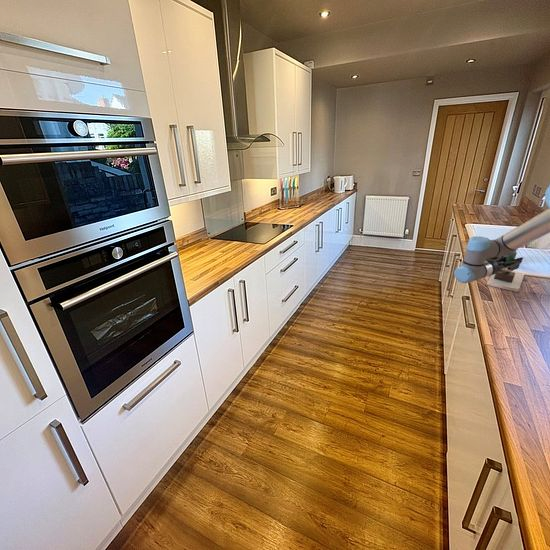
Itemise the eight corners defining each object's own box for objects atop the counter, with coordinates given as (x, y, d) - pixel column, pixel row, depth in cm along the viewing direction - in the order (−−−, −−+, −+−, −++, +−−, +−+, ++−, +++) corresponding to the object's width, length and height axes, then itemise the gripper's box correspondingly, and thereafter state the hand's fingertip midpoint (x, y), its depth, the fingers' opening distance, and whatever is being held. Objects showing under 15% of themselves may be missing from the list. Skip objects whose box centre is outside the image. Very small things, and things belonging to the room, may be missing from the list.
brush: (513, 279, 139) (523, 252, 133) (511, 283, 136) (521, 255, 129) (495, 275, 143) (504, 248, 137) (493, 278, 140) (502, 251, 134)
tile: (523, 275, 145) (524, 273, 144) (517, 292, 131) (519, 289, 130) (494, 269, 152) (495, 267, 152) (486, 284, 138) (487, 281, 137)
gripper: (465, 269, 137) (496, 260, 145) (501, 283, 124) (533, 272, 132) (469, 254, 134) (501, 246, 142) (506, 267, 121) (539, 257, 129)
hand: (516, 258), depth 137 cm, fingers closed on brush, 3 cm apart
